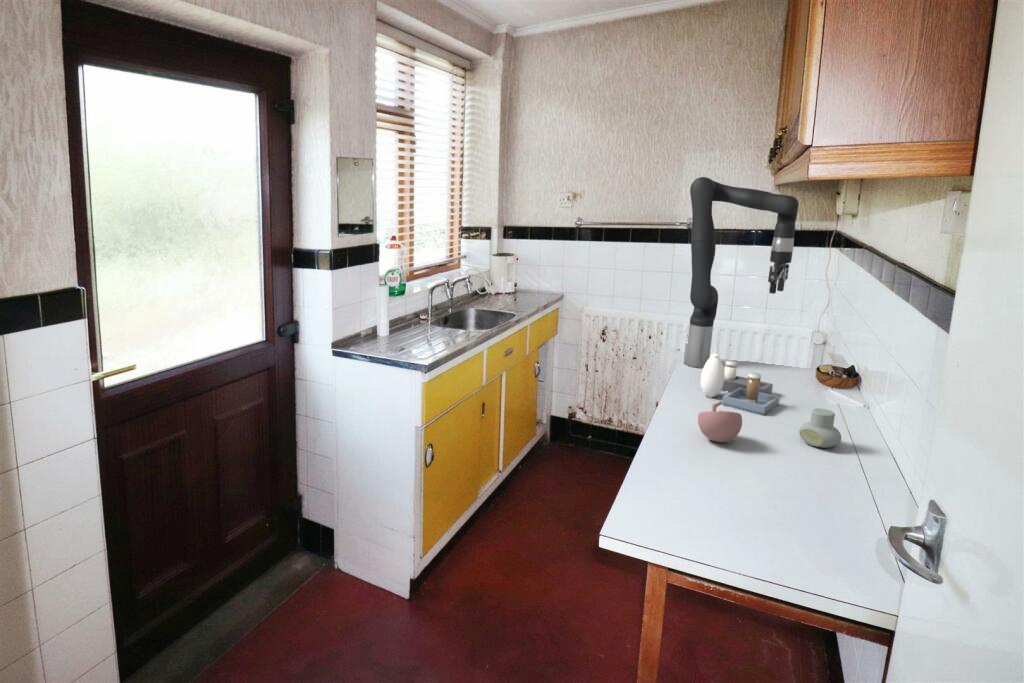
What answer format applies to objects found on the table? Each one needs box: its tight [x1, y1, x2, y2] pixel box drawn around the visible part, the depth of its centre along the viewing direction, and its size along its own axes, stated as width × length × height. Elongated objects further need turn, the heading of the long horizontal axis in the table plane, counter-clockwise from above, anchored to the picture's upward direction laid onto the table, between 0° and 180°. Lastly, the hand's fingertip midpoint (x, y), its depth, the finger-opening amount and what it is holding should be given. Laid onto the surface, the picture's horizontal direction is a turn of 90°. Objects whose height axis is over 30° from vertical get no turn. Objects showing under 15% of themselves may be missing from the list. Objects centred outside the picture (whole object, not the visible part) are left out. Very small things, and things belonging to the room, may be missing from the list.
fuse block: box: [721, 375, 774, 395], centre depth 224 cm, size 18×9×4 cm, turn 49°
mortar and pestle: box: [697, 400, 743, 443], centre depth 177 cm, size 12×12×11 cm
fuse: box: [724, 360, 738, 381], centre depth 226 cm, size 4×4×10 cm
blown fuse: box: [745, 372, 762, 404], centre depth 208 cm, size 4×4×10 cm
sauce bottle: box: [700, 346, 725, 398], centre depth 215 cm, size 8×8×18 cm
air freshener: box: [798, 407, 842, 449], centre depth 177 cm, size 11×8×10 cm
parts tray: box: [721, 387, 781, 416], centre depth 209 cm, size 14×14×3 cm
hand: (776, 292), depth 238 cm, fingers open, 8 cm apart
